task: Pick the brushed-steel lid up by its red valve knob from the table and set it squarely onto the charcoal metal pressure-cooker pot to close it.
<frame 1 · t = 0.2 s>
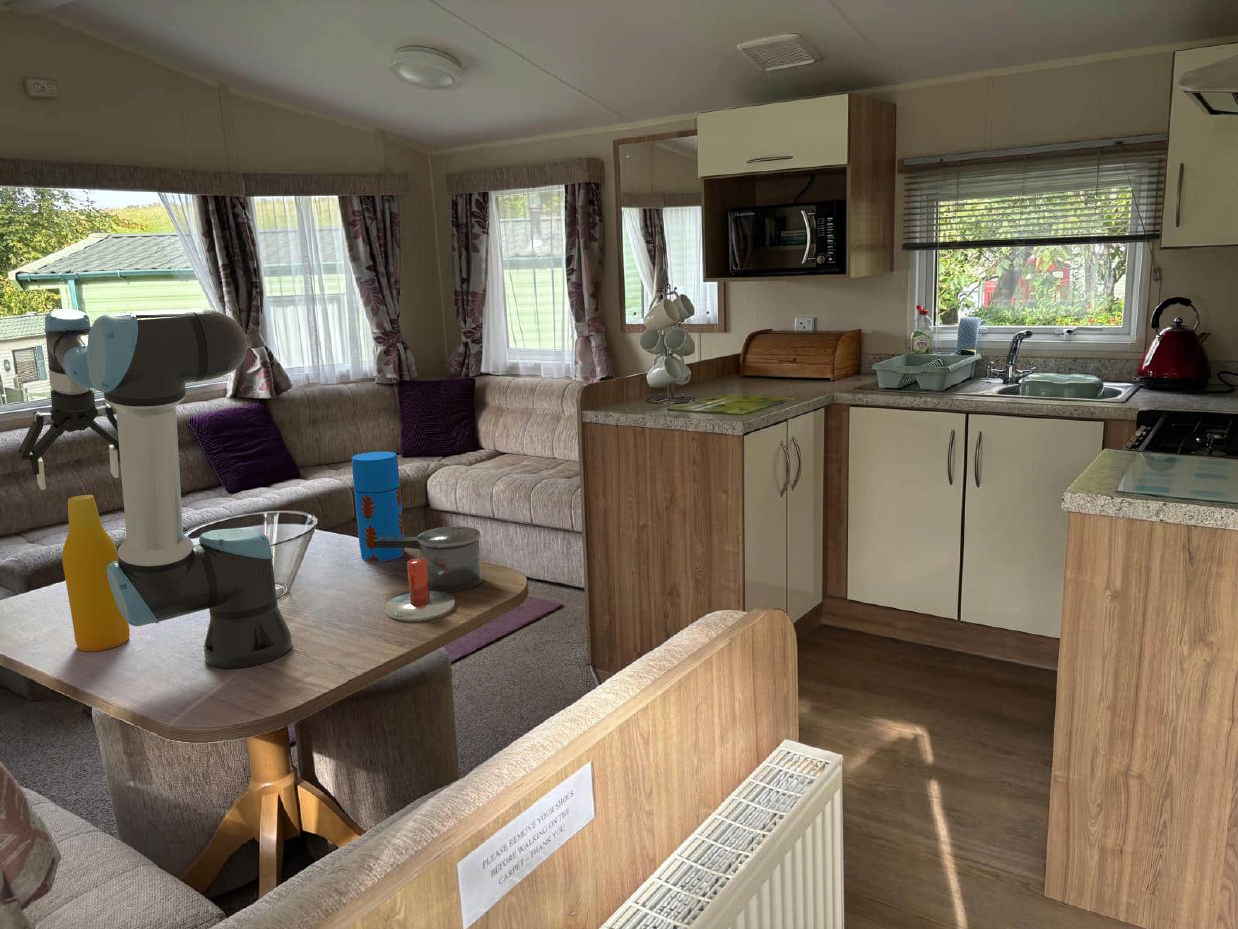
hand: (79, 480, 193), 28 cm above the table, tool tilted 20°, fingers open, 13 cm apart
pot: (452, 582, 207), on the table
lid: (420, 609, 192), on the table
thermos: (383, 555, 229), on the table
beer bottle: (104, 643, 179), on the table
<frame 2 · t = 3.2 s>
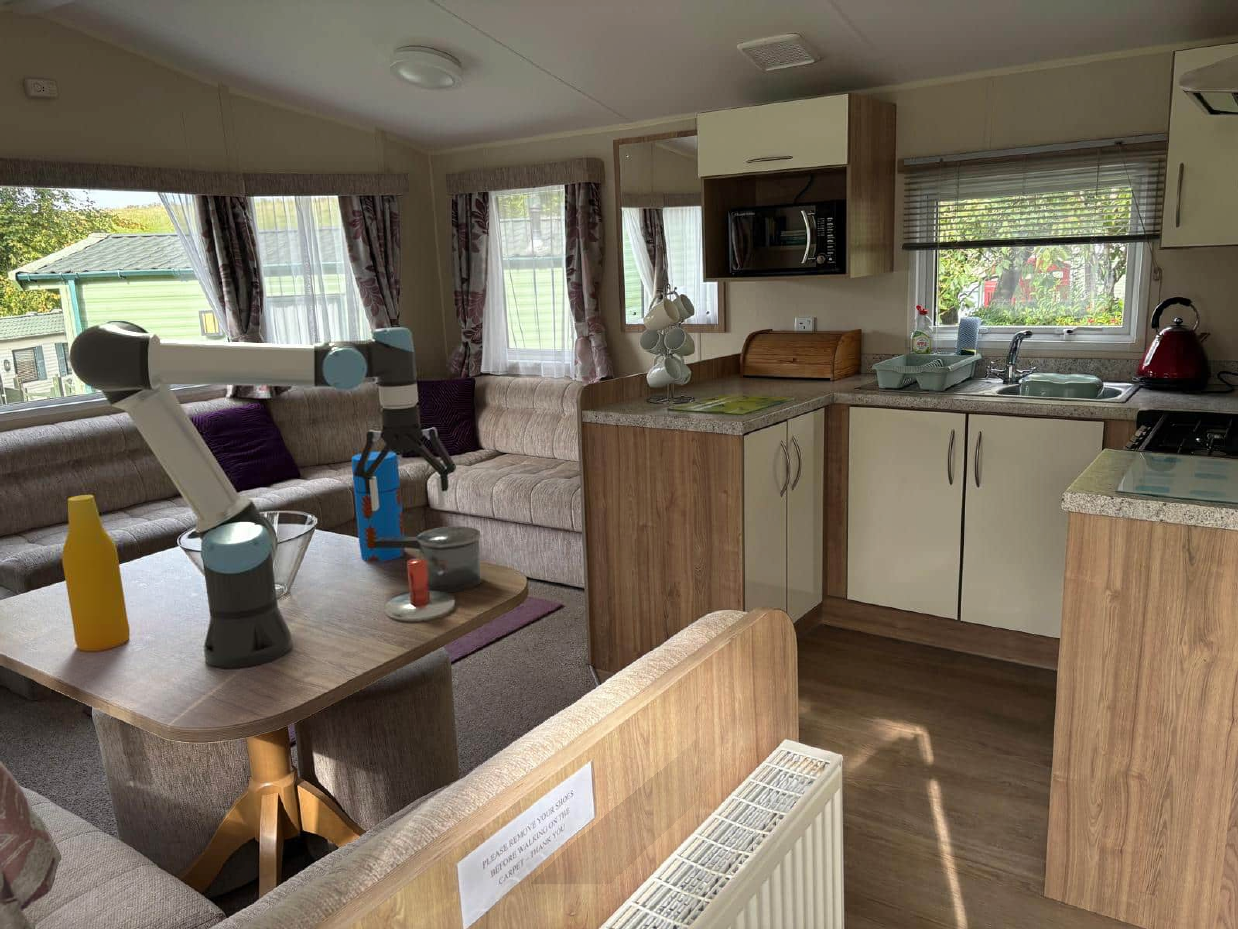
hand: (408, 508, 190), 21 cm above the table, tool pointing down, fingers open, 13 cm apart
nothing on the table moved.
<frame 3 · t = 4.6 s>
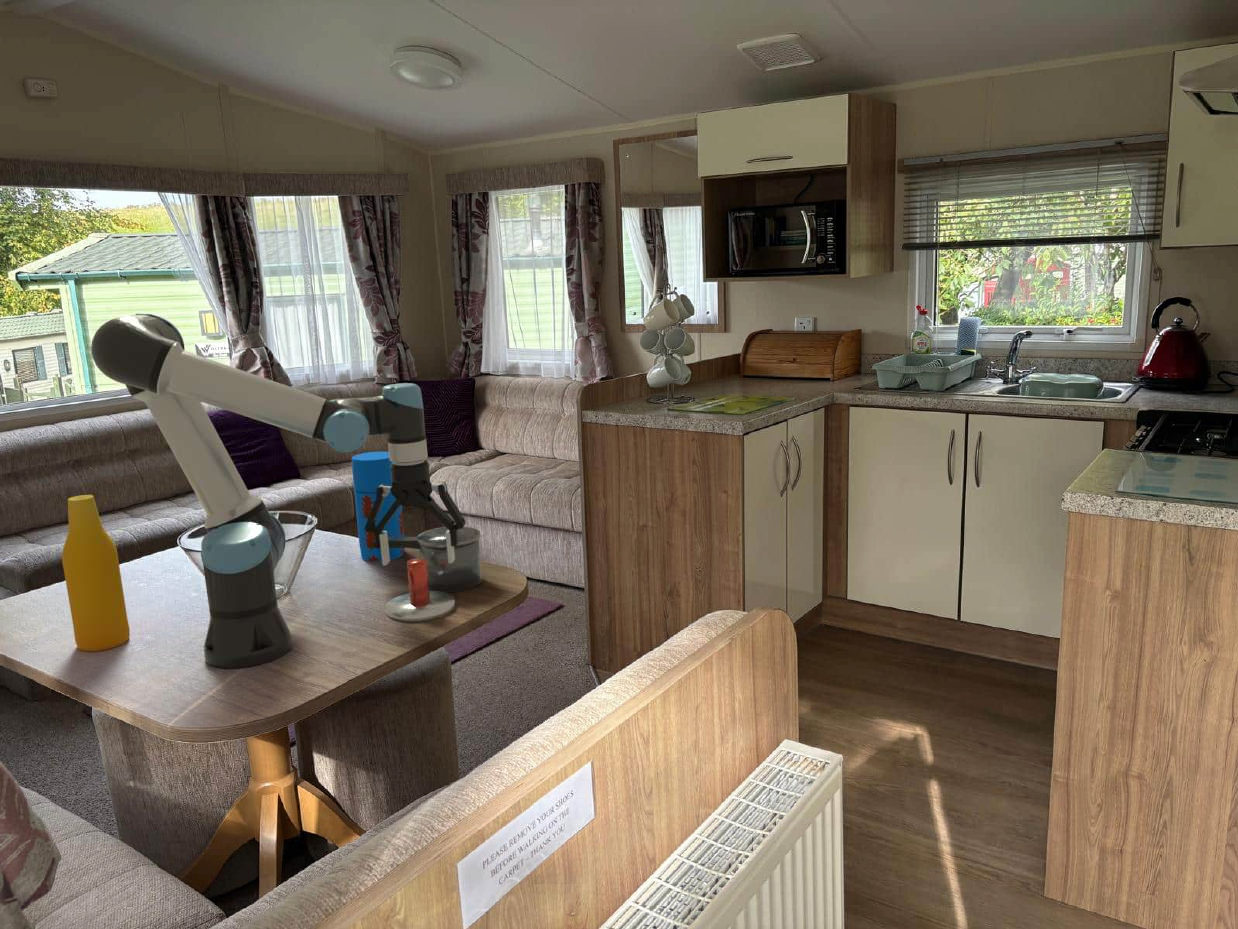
hand: (419, 562, 190), 10 cm above the table, tool pointing down, fingers open, 13 cm apart
nothing on the table moved.
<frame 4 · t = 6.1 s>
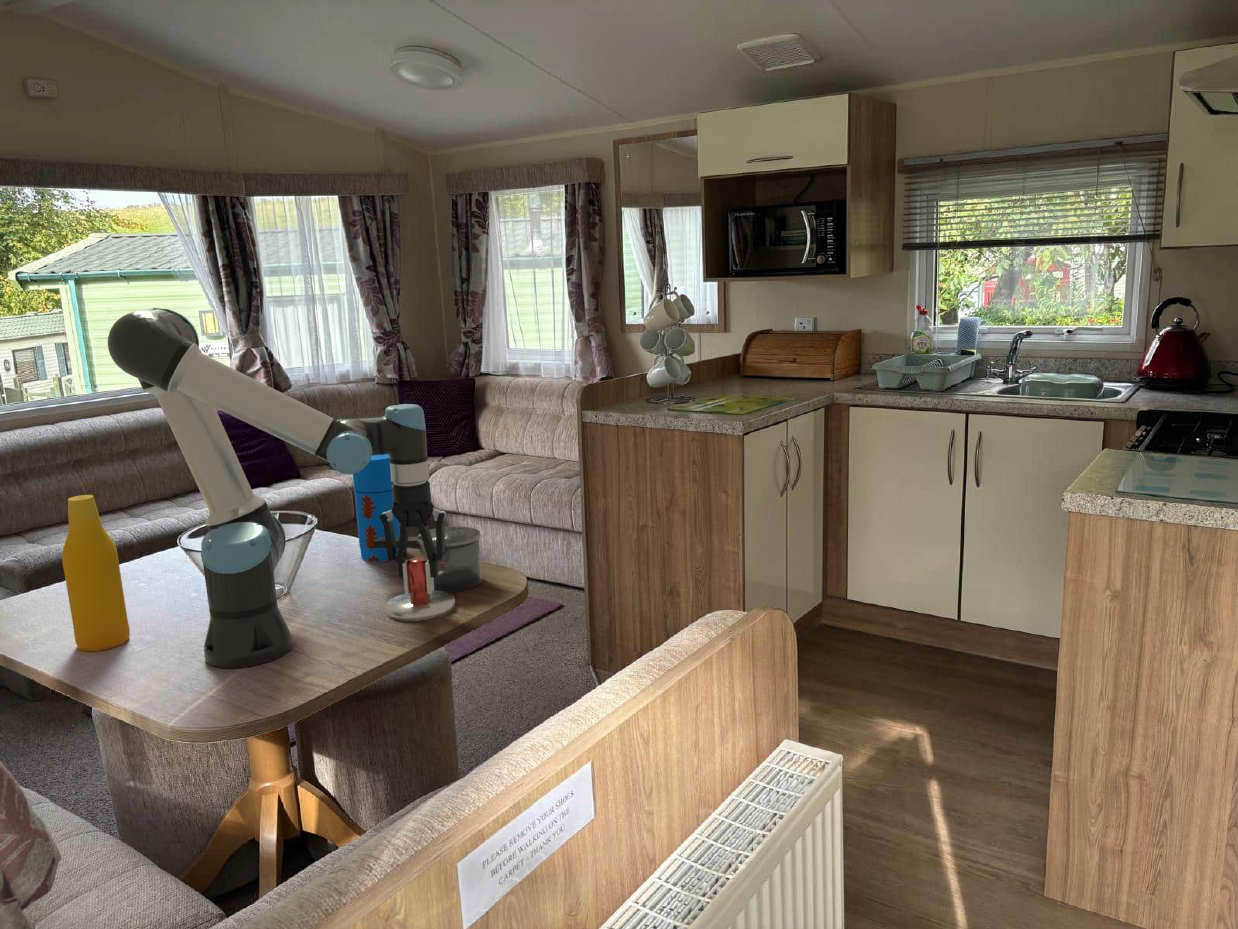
hand: (419, 591, 191), 4 cm above the table, tool pointing down, fingers closed on lid, 4 cm apart
lid: (421, 608, 192), on the table, touching gripper
everything else where it was.
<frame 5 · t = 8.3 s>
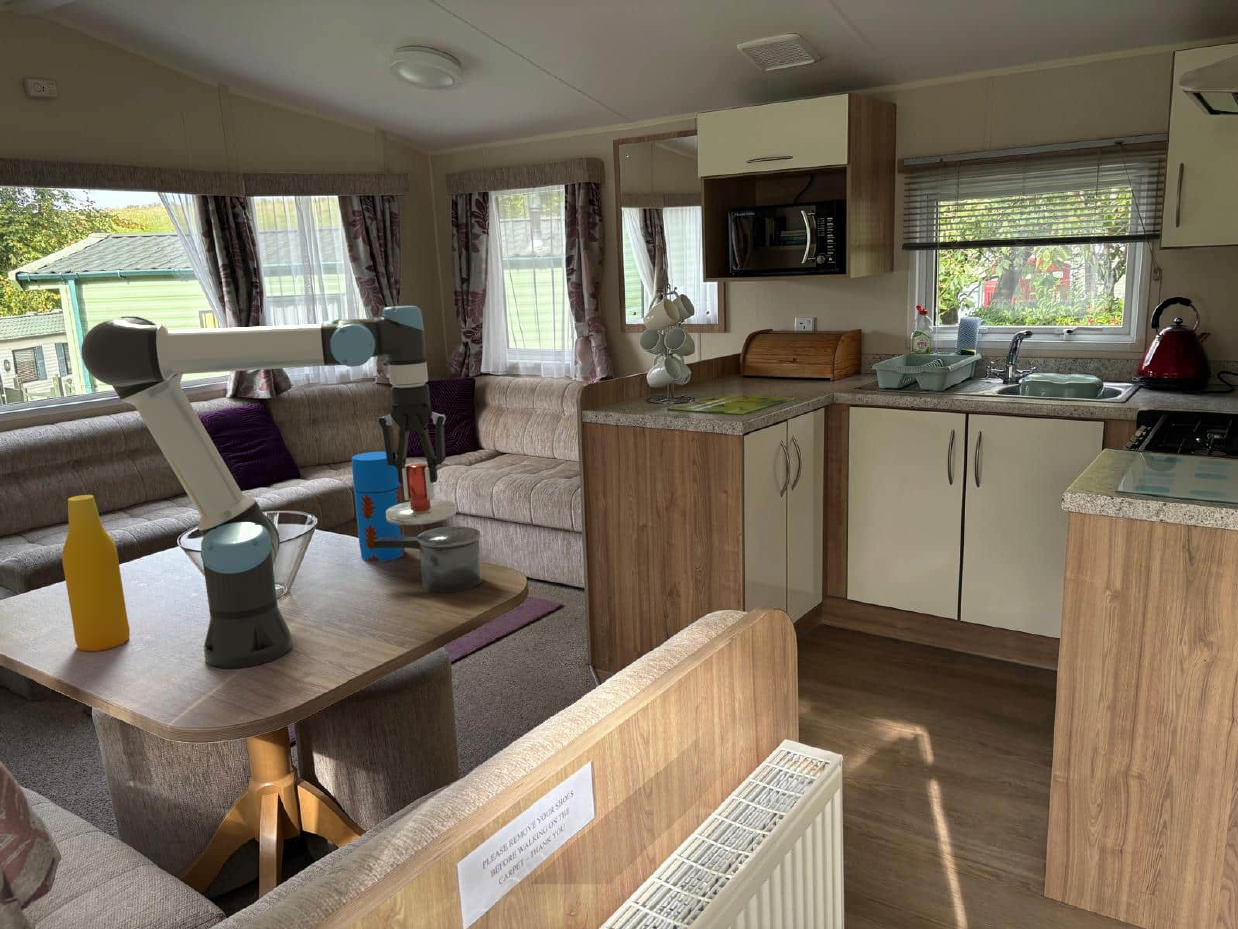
hand: (419, 497, 189), 23 cm above the table, tool pointing down, fingers closed on lid, 4 cm apart
lid: (421, 515, 190), point 19 cm above the table, touching gripper
everything else where it was.
when the fingers open (16 cm above the table, at t = 10.9 s): lid drops 1 cm, resting on pot.
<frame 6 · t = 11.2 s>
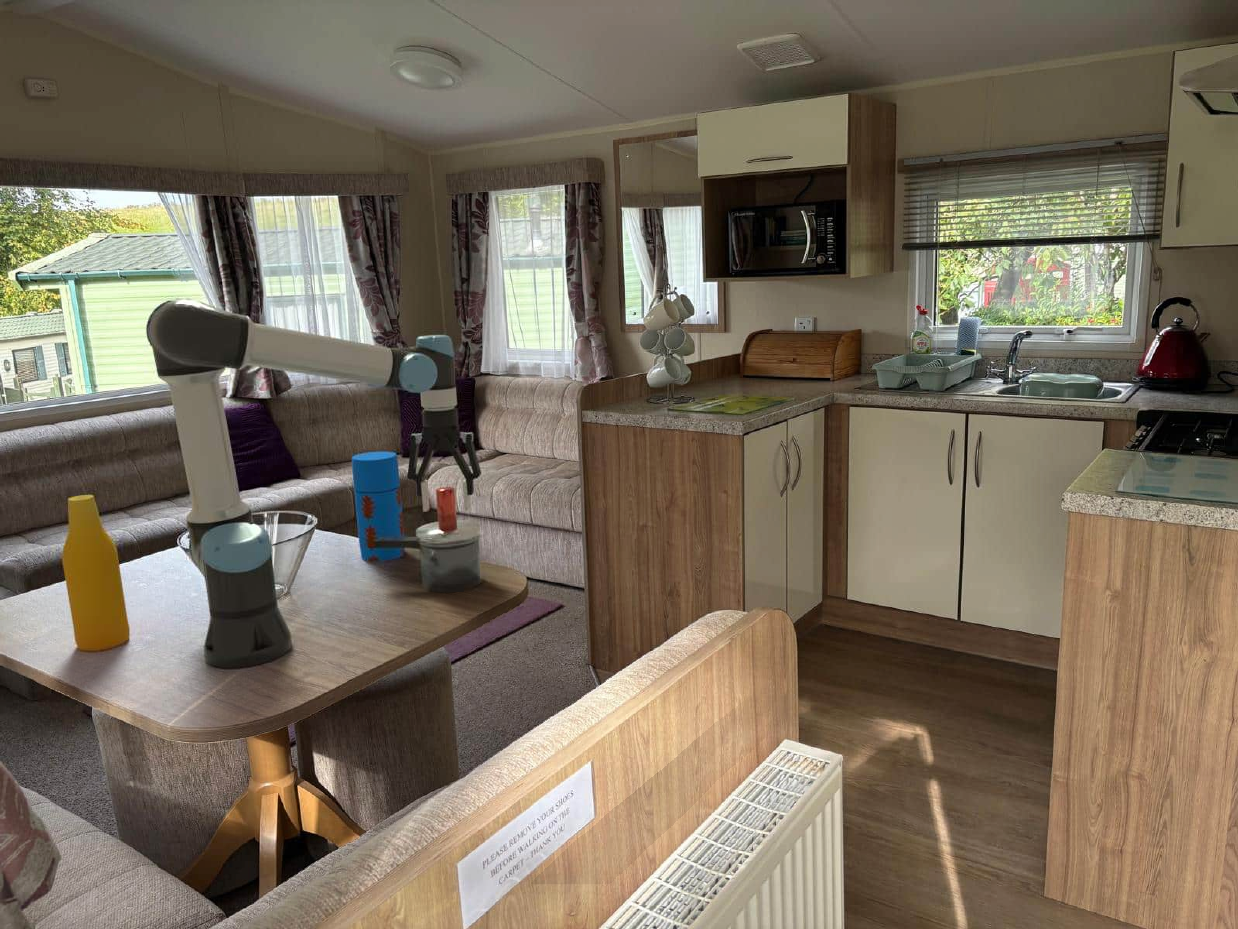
hand: (446, 509, 203), 17 cm above the table, tool pointing down, fingers open, 8 cm apart
lid: (448, 535, 205), point 11 cm above the table, touching pot
everything else where it was.
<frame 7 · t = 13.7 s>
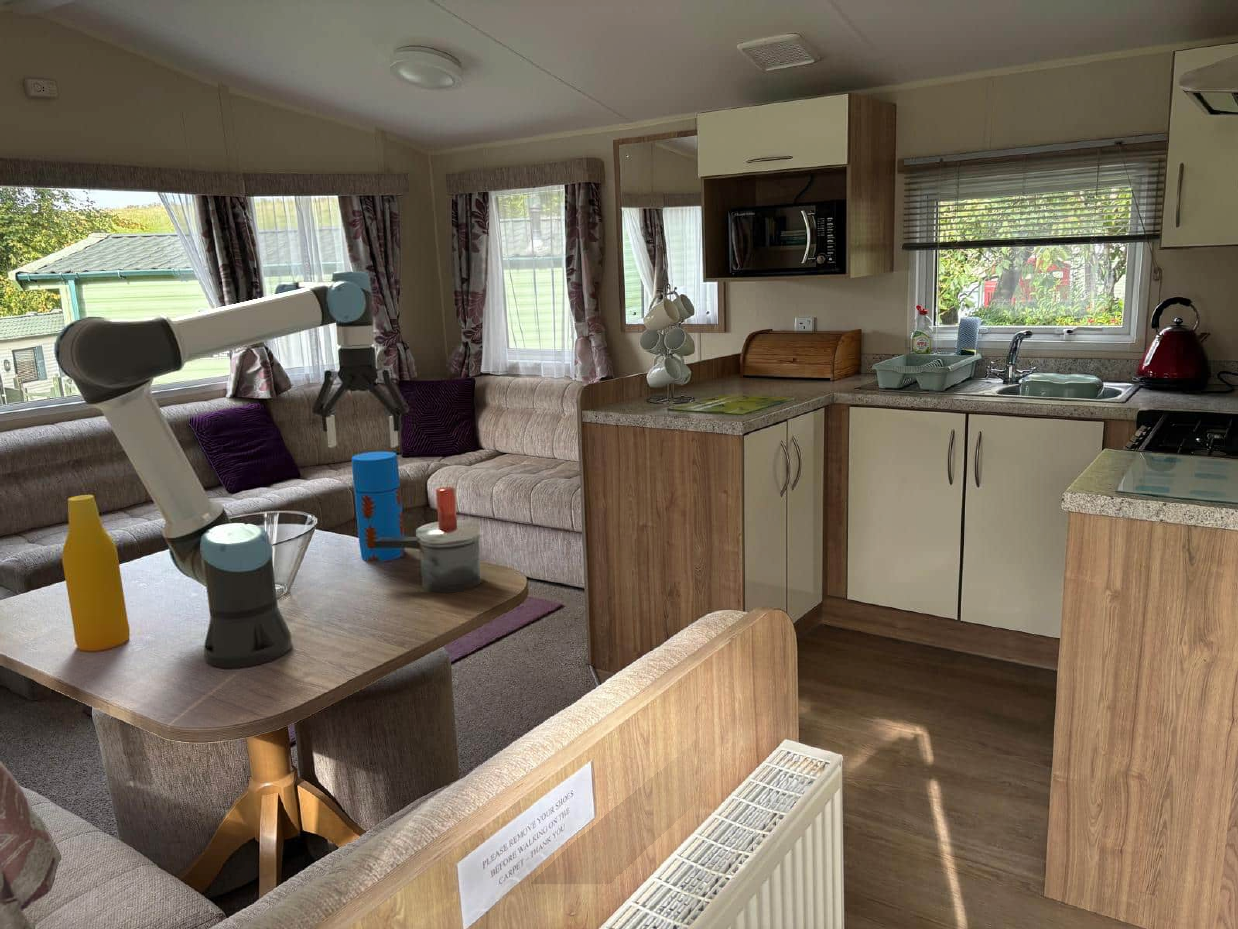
hand: (363, 446, 198), 32 cm above the table, tool pointing down, fingers open, 13 cm apart
nothing on the table moved.
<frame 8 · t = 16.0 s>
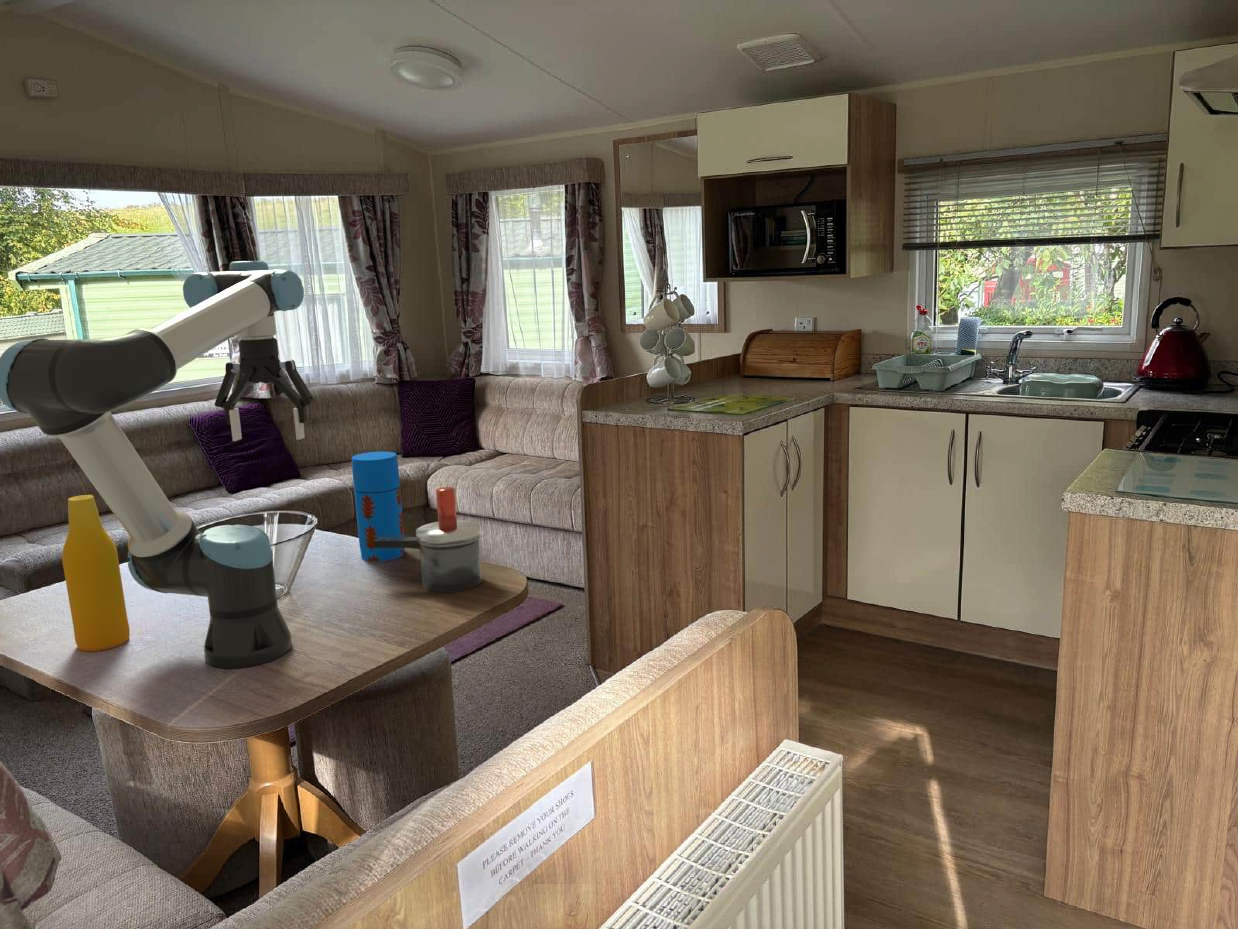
hand: (269, 439, 195), 35 cm above the table, tool pointing down, fingers open, 13 cm apart
nothing on the table moved.
at the end: lid 0.1 cm off-centre on the pot, point 11.0 cm above the pot's base; lid tilted 0°; the gripper is holding nothing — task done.
